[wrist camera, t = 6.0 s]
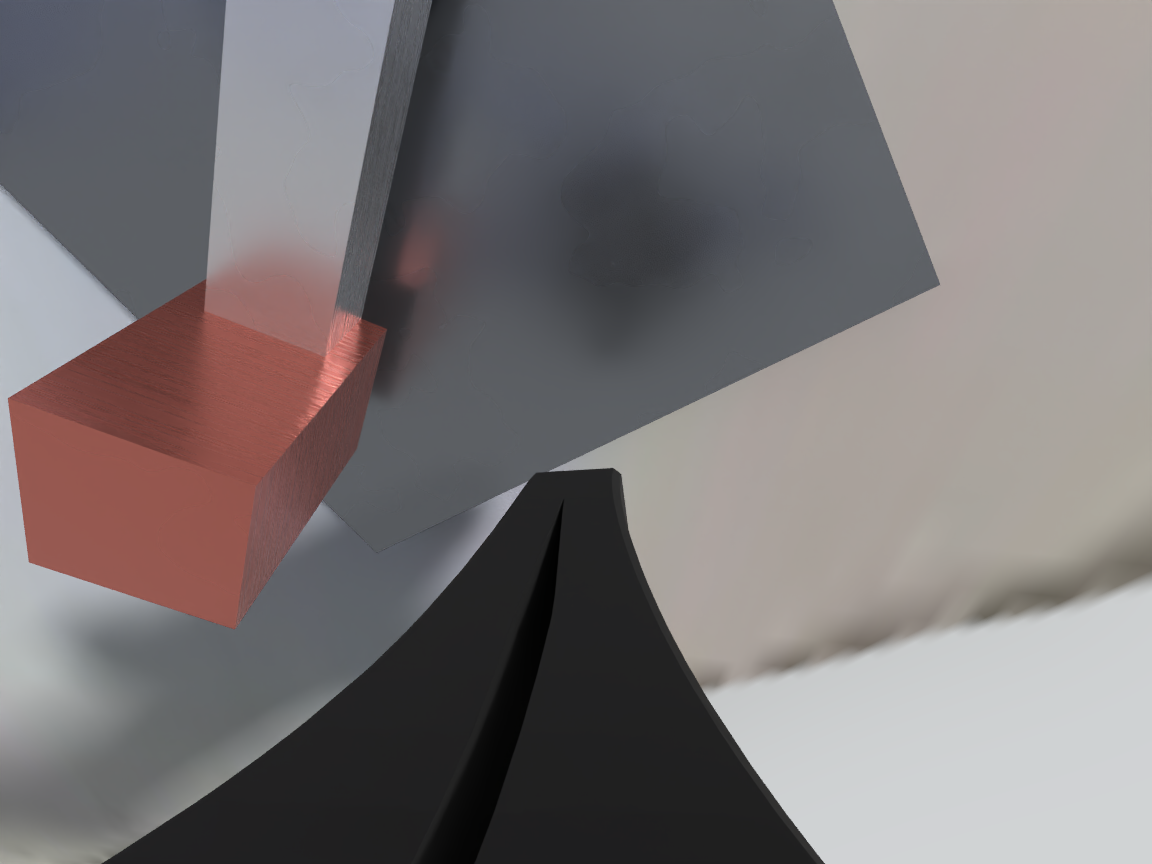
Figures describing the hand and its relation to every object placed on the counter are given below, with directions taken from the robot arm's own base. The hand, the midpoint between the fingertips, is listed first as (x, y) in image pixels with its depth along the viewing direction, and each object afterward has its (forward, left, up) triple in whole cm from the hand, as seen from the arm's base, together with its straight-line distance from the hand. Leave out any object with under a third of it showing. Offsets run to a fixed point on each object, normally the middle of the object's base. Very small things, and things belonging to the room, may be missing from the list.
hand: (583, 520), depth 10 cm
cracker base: (0, +6, -5) cm, 8 cm away
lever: (-1, +6, -4) cm, 7 cm away
